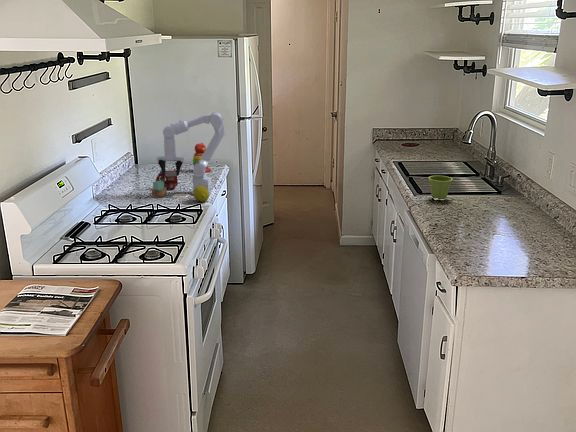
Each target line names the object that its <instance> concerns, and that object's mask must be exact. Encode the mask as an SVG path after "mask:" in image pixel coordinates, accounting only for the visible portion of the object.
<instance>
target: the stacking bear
mask: <svg viewBox="0 0 576 432" xmlns="http://www.w3.org/2000/svg"><path fill="white" fill-rule="evenodd" d="M206 148H207V146H206V145H205V144H204V143H203V142H200V143H196V144H195V145H194V151H195V152H194V154H193V157H192V165H193V167H194V166H195V164H196V163H198V162H199V160H200V159H201V157H202V155H203V154H204V152H205V150H206ZM208 166H209V164H208V165H207V167H206V170H205V174H206V173H211V171H212V170H213V169H212V168H210V167H208Z"/></svg>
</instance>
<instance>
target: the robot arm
mask: <svg viewBox="0 0 576 432" xmlns="http://www.w3.org/2000/svg"><path fill="white" fill-rule="evenodd" d="M224 121H225V120H224V118H223V115H222V114H221V113H220V112H218V111H214V112H212V113H211V112H210V113H205V114H203V115H200V116H198V117H196V118H193V119H191V120H187V121H186V120H182V119H180V120H179V121H178V122H175V123H171V124H170V125H166V126H165V127H164V129H163V130H162V135H163V149H164V151H163V152H164V153H163V154H164V156H156V161H157V164H158V165H159V167H160V171H161V170H162V173H163V175H164V174H166V171H167V170H166V163H167V162H174V164H175V171H176V174H177V175H178V176H179V175H180V171H181V168H182V166H183V163H184V162H185V157H181V156H176V154H177V153H176V140H175V135H176V136H177V135H180V134H183V133H186V132H188V131H189V129H190V128H192V127H195V126H199V125H201V124H207V125H210V124H211V126H212V127H213V129H214V134H213V136H212V138H211V139H210V141H209V143H208V145H207V146H206V150H205V152H204V154H203V155H202V157H201V159H200V160H199V162H198V163H196V164H195V166H194V165H193V169H192V174H193V175H192V184H193V186H192V187H193V191H192V192H191V193H190V195H194V190H195V188H196V187H198V186H204V187H206V188H207V189H208V191H209V195H210V194H211V193H212V192H213V188H212V187H213V186H212V177H210V176H207V174H206V173H205V170H206V167H207V165H208V166H209V162H210V161H211V159H212V157H213V155H214V154H215V152H216V150H217V149H218V147H219V145H220V143H221V141H222V139H223V137H224V136H225V134H226V131H225V124H224V123H225V122H224ZM207 168H208V167H207Z"/></svg>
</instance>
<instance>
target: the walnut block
mask: <svg viewBox="0 0 576 432" xmlns="http://www.w3.org/2000/svg"><path fill="white" fill-rule="evenodd" d="M167 189H168V187H166V188H164V189H162V190H153V189H151V198H152V199H153V198H155V199H157V198H158V199H163V198H165V197H166V196H168V190H167Z"/></svg>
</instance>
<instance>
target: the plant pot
mask: <svg viewBox="0 0 576 432" xmlns="http://www.w3.org/2000/svg"><path fill="white" fill-rule="evenodd" d="M428 180H429V185H430V193H431V195H430V196H432V197H433V198H438V199H445V198H446V199H448V193H449V190H450V186H451V184H452V181H453V177H451V176H450V177H449V176H446V175H431V176H428Z"/></svg>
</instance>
